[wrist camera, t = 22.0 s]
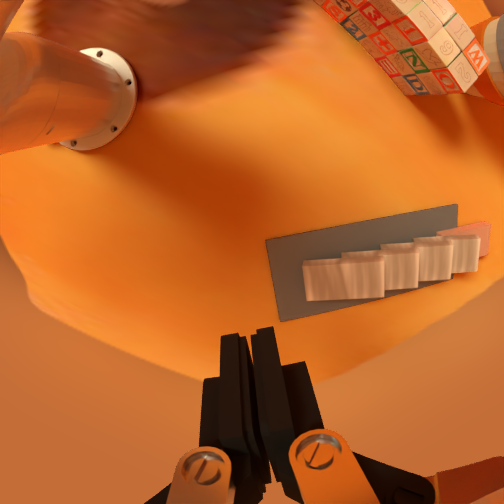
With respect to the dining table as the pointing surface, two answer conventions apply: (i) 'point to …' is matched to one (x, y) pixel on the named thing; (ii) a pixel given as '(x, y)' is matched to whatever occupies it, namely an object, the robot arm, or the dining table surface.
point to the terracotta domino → (478, 228)
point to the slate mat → (337, 242)
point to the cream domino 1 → (344, 278)
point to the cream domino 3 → (430, 258)
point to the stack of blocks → (414, 42)
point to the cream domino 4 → (460, 251)
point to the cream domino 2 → (395, 266)
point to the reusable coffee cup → (500, 54)
